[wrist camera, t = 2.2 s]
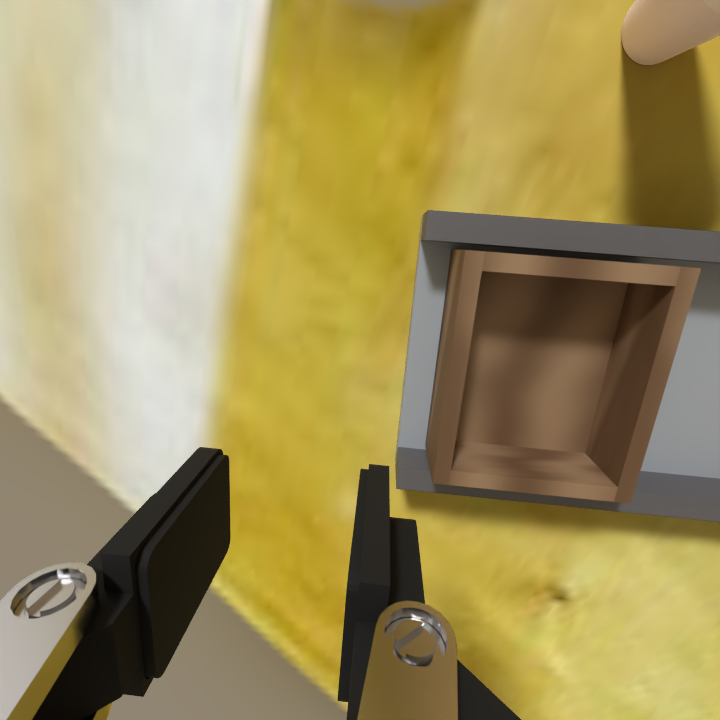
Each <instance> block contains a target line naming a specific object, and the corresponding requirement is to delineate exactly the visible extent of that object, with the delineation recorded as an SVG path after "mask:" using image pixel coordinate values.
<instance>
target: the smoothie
mask: <svg viewBox="0 0 720 720" xmlns="http://www.w3.org/2000/svg"><path fill="white" fill-rule="evenodd" d="M718 36H720V0H636V1H635V2H634V3H633V5H632V6H631V7H630V9H629V10H628V12H627V14H626V16H625V19H624V21H623V25H622V31H621V39H622V45H623V48H624V50H625V52H626V54H627V55H628V56H629V57H630V58H631V59H632V60H633V61H635V62H636V63H639V64H642V65H654V64H658V63H661V62H663V61H665V60H668V59H670V58H672V57H674V56H676V55H678V54H681V53H683V52H685V51H687V50H689V49H692V48H694V47H696V46H698V45H700V44H702V43H705V42H707V41H709V40H711V39H713V38H716V37H718Z"/></svg>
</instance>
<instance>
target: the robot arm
mask: <svg viewBox="0 0 720 720" xmlns="http://www.w3.org/2000/svg"><path fill="white" fill-rule="evenodd" d="M229 544H230V484H229V457H228V456H227V455H223V452H222V450H221V449H214V448H204V447H200V448H198V449H197V450H196V451H195V452H194V453H193V454H192V456H191V457H190V458H189V459H188V460H187V461H186V462H185V463H184V464H183V465H182V466H181V467H180V468H179V469H178V471H177V472H176V473H175V474H174V475H173V476H172V477H171V478H170V479H169V480H168V481H167V482H166V483H165V484H164V485H163V487H162V488H161V489H160V490H159V491H158V492H157V493H155V494H154V495H153V496H151V497H150V498H149V499H148V500H147V501H146V502H145V503H144V505H143V506H142V507H141V508H140V509H139V510H138V511H137V512H136V513H135V514H134V515H133V516H132V517H131V518H130V519H129V520H128V522H127V523H126V524H125V525H124V526H123V527H122V528H121V529H120V530H119V531H118V532H117V533H116V534H115V535H114V536H113V537H112V538H111V540H110V541H109V542H108V543H107V544H106V545H105V546H104V547H103V548H102V549H101V550H100V551H99V552H98V554H96V556H95V557H94V558H93V559H92V560H91V561H90V562H89V563H88V564H87V565H86V564H83V563H75V562H73V563H62V564H58V565H54V566H51V567H47V568H45V569H43V570H40V571H38V572H36V573H34V574H32V575H30V576H29V577H27V578H25V579H24V580H22V581H21V582H19V583H18V584H17V585H16V586H15V587H14V588H13V589H11V590H10V591H9V592H8V593H7V594H6V596H5V597H4V598H3V599H2V600H1V601H0V720H106V719H107V717H108V714H109V711H110V708H111V704H112V702H113V701H115V700H117V699H118V698H120V697H121V696H122V695H123V694H127V695H134V696H144V695H145V693H146V691H147V689H148V687H149V685H150V683H151V682H152V680H153V678H159V677H161V676H162V675H163V673H164V671H165V670H166V668H167V666H168V664H169V662H170V660H171V658H172V656H173V655H174V653H175V650H176V649H177V647H178V645H179V643H180V641H181V639H182V637H183V635H184V633H185V632H186V630H187V628H188V626H189V624H190V622H191V620H192V618H193V616H194V614H195V612H196V610H197V609H198V607H199V605H200V603H201V601H202V599H203V597H204V595H205V593H206V591H207V590H208V588H209V586H210V584H211V582H212V580H213V578H214V576H215V574H216V572H217V570H218V569H219V567H220V565H221V563H222V561H223V559H224V557H225V555H226V553H227V551H228V548H229ZM338 701H343V702H348V711H347V720H521V719H520V718H519V717H518V716H517V715H516V714H514V713H513V712H512V711H511V710H510V709H509V708H508V707H507V706H506V705H505V704H504V703H503V702H502V701H501V700H500V699H499V698H497V697H496V696H495V695H494V694H493V693H492V692H491V691H490V690H489V689H488V688H487V687H486V686H485V685H484V684H483V683H482V682H480V681H479V680H478V679H477V678H476V677H475V676H474V675H473V674H472V673H471V672H470V671H469V670H468V669H467V668H466V667H465V666H463V665H462V664H461V663H460V662H459V661H458V660H457V644H456V638H455V633H454V631H453V629H452V627H451V625H450V623H449V622H448V621H447V620H446V619H445V617H444V616H443V615H442V614H441V613H440V612H438V611H437V610H435V609H434V608H432V607H431V606H429V605H426V604H425V600H424V590H423V581H422V572H421V562H420V553H419V543H418V534H417V525H416V521H415V520H412V519H403V518H393V517H390V506H389V466H382V465H372V464H369V470H367V469H361V471H360V479H359V488H358V496H357V505H356V513H355V522H354V530H353V539H352V547H351V555H350V564H349V573H348V582H347V593H346V605H345V617H344V629H343V641H342V654H341V666H340V678H339V690H338Z"/></svg>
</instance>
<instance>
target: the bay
mask: <svg viewBox="0 0 720 720" xmlns="http://www.w3.org/2000/svg"><path fill="white" fill-rule="evenodd" d="M451 249H456V250H473V251H486V252H499V253H512V254H524V255H537V256H550V257H563V258H576V259H589V260H601V261H614V262H627V263H640V264H653V265H666V266H679V267H691V268H701V271H700V274H699V277H698V281H697V284H696V287H695V291H694V294H693V297H692V301H691V304H690V307H689V311H688V314H687V317H686V321H685V324H684V327H683V331H682V334H681V337H680V341H679V344H678V347H677V351H676V354H675V357H674V361H673V364H672V367H671V371H670V374H669V377H668V381H667V384H666V387H665V391H664V394H663V397H662V401H661V404H660V407H659V411H658V414H657V417H656V421H655V424H654V427H653V431H652V434H651V437H650V441H649V444H648V447H647V451H646V454H645V457H644V461H643V464H642V467H641V471H640V474H639V477H638V481H637V484H636V487H635V491H634V494H633V497H632V501H631V504H630V503H620V502H610V501H600V500H591V499H581V498H571V497H561V496H551V495H542V494H532V493H522V492H512V491H502V490H493V489H483V488H473V487H463V486H453V485H444V484H434V483H432V478H431V473H430V468H429V462H428V457H427V452H426V447H425V443H426V436H427V428H428V420H429V413H430V405H431V398H432V390H433V383H434V375H435V368H436V360H437V352H438V345H439V337H440V330H441V322H442V315H443V307H444V300H445V292H446V284H447V277H448V269H449V262H450V254H451ZM395 467H396V489H405V490H414V491H424V492H434V493H443V494H453V495H463V496H472V497H482V498H492V499H502V500H511V501H521V502H531V503H540V504H550V505H560V506H570V507H579V508H589V509H599V510H608V511H618V512H628V513H637V514H647V515H657V516H667V517H676V518H686V519H696V520H705V521H715V522H720V232H717V231H703V230H690V229H676V228H663V227H649V226H636V225H622V224H609V223H595V222H582V221H568V220H555V219H541V218H528V217H514V216H501V215H487V214H474V213H460V212H447V211H433V210H428V211H427V212H426V213H424V214H423V215H422V222H421V231H420V240H419V249H418V258H417V267H416V276H415V285H414V294H413V303H412V312H411V321H410V330H409V339H408V348H407V357H406V366H405V375H404V384H403V393H402V403H401V412H400V421H399V430H398V439H397V448H396V457H395Z"/></svg>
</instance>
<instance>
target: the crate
mask: <svg viewBox="0 0 720 720" xmlns="http://www.w3.org/2000/svg"><path fill="white" fill-rule="evenodd" d="M700 271H701V268H691V267H679V266H666V265H653V264H640V263H627V262H614V261H601V260H589V259H576V258H563V257H550V256H537V255H524V254H512V253H499V252H486V251H473V250H456V249H451V254H450V262H449V269H448V277H447V284H446V292H445V300H444V307H443V315H442V322H441V330H440V337H439V345H438V352H437V360H436V368H435V375H434V383H433V390H432V398H431V405H430V413H429V420H428V428H427V436H426V443H425V447H426V452H427V457H428V462H429V468H430V473H431V478H432V483H434V484H444V485H453V486H463V487H473V488H483V489H493V490H502V491H512V492H522V493H532V494H542V495H551V496H561V497H571V498H581V499H591V500H600V501H610V502H620V503H630V504H631V501H632V497H633V494H634V491H635V487H636V484H637V481H638V477H639V474H640V471H641V467H642V464H643V461H644V457H645V454H646V451H647V447H648V444H649V441H650V437H651V434H652V431H653V427H654V424H655V421H656V417H657V414H658V411H659V407H660V404H661V401H662V397H663V394H664V391H665V387H666V384H667V381H668V377H669V374H670V371H671V367H672V364H673V361H674V357H675V354H676V351H677V347H678V344H679V341H680V337H681V334H682V331H683V327H684V324H685V321H686V317H687V314H688V311H689V307H690V304H691V301H692V297H693V294H694V291H695V287H696V284H697V281H698V277H699V274H700Z"/></svg>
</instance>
